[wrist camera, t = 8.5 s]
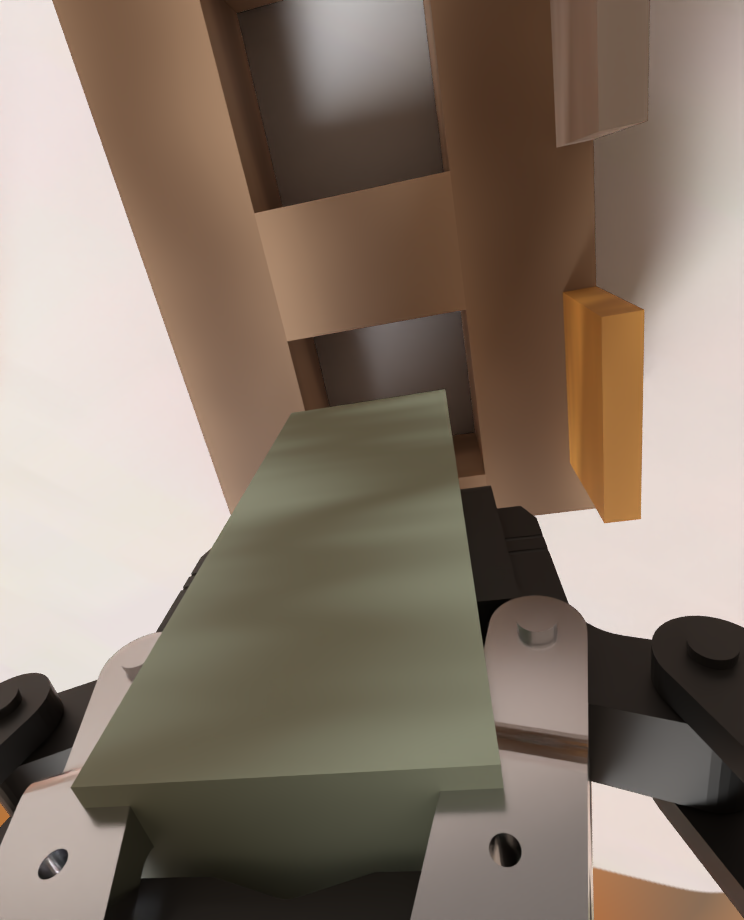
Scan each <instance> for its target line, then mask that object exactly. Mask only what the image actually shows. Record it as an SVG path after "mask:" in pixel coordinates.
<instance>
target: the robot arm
mask: <svg viewBox="0 0 744 920" xmlns="http://www.w3.org/2000/svg"><path fill="white" fill-rule="evenodd" d="M460 493H461V500H462V506H463V513H464V520H465V527H466V533H467V540H468V547H469V554H470V560H471V567H472V574H473V581H474V587H475V594H476V601H477V608H478V614H479V621H480V628H481V635H482V641H483V648H484V655H485V662H486V668H487V675H488V682H489V689H490V695H491V702H492V709H493V716H494V722H495V729H496V736H497V743H498V749H499V756H500V763H501V770H502V778H503V785H504V788H495V789H474V790H453V791H440V793H439V797H438V802H437V806H436V810H435V815H434V819H433V823H432V828H431V832H430V837H429V841H428V845H427V850H426V854H425V858H424V863H423V867H422V871H398V872H374V873H371V874H368V875H365V876H362V877H359V878H355V879H352V880H349V881H346V882H343V883H340V884H337V885H334V886H331V887H328V888H325V889H322V890H318V891H315V892H312V893H309V894H306V895H303V896H300V897H297V898H293V899H280V898H276V897H273V896H270V895H267V894H264V893H261V892H258V891H255V890H252V889H249V888H245V887H242V886H239V885H236V884H233V883H230V882H227V881H224V880H221V879H218V878H215V877H212V876H209V877H171V878H141V876H142V872H143V868H144V865H145V861H146V859H147V857H148V855H149V853H150V851H151V850H152V849H153V848H154V846H153V844H152V842H151V840H150V839H149V837H148V835H147V834H146V832H145V830H144V829H143V827H142V825H141V823H140V822H139V820H138V818H137V817H136V815H135V813H134V811H133V810H132V808H131V806H115V807H94V808H83V806H82V805H81V803H80V802H79V800H78V798H77V797H76V795H75V794H74V792H73V791H72V789H71V788H70V787H71V786H72V784H73V782H74V781H75V779H76V777H77V776H78V774H79V772H80V771H81V769H82V767H83V765H84V764H85V762H86V760H87V759H88V757H89V755H90V754H91V752H92V750H93V748H94V747H95V745H96V743H97V742H98V740H99V738H100V737H101V735H102V733H103V732H104V730H105V728H106V726H107V725H108V723H109V721H110V720H111V718H112V716H113V715H114V713H115V711H116V709H117V708H118V706H119V704H120V703H121V701H122V699H123V698H124V696H125V694H126V693H127V691H128V689H129V687H130V686H131V684H132V682H133V681H134V679H135V677H136V676H137V674H138V672H139V670H140V669H141V667H142V665H143V664H144V662H145V660H146V659H147V657H148V655H149V654H150V652H151V650H152V648H153V647H154V645H155V643H156V642H157V640H158V638H159V637H160V635H161V633H162V632H163V630H164V628H165V626H166V625H167V623H168V621H169V620H170V618H171V616H172V615H173V613H174V611H175V609H176V608H177V606H178V604H179V603H180V601H181V599H182V598H183V596H184V594H185V593H186V591H187V589H188V587H189V586H190V584H191V582H192V581H193V579H194V577H195V576H196V574H197V572H198V570H199V569H200V567H201V565H202V564H203V562H204V560H205V559H206V557H207V555H208V554H209V552H210V550H211V549H210V550H209V551H208V552H207V553H206V554H204V555H203V556H202V557H201V558H200V560H199V562H198V563H197V565H196V567H195V568H194V570H193V572H192V573H191V574H192V576H191V577H189V578H188V580H187V582H186V583H185V585H184V586H183V590H181V591H180V593H179V595H178V596H177V598H176V600H175V601H174V603H173V605H172V606H171V608H170V610H169V611H168V613H167V615H166V616H165V618H164V620H163V621H162V623H161V625H160V626H159V628H158V630H157V631H156V633H152V634H148V635H145V636H143V637H140V638H138V639H136V640H134V641H132V642H130V643H128V644H127V645H125V646H124V647H122V648H121V649H120V650H118V651H117V652H116V653H115V654H114V655H113V656H112V657H111V658H110V659H109V660H108V661H107V662H106V664H105V665H104V667H103V668H102V670H101V672H100V675H99V677H98V680H95V681H92V682H90V683H87V684H84V685H81V686H78V687H75V688H72V689H69V690H66V691H63V692H60V693H57V692H56V691H55V689H54V687H53V686H52V684H51V682H50V681H49V679H48V678H47V677H46V676H45V675H43V674H39V673H28V674H23V675H19V676H16V677H13V678H11V679H8V680H6V681H4V682H2V683H0V803H1V804H2V806H3V807H4V808H5V810H6V811H7V813H8V814H9V815H10V817H9V818H8V819H7V820H6V821H5V823H3V825H2V826H1V827H0V920H594V913H593V850H592V781H593V782H597V783H600V784H604V785H608V786H612V787H616V788H619V789H623V790H627V791H631V792H635V793H638V794H642V795H646V796H650V797H652V798H653V800H654V801H655V803H656V804H657V806H658V807H659V809H660V810H661V811H662V812H663V814H664V815H665V816H666V818H667V819H668V820H669V822H670V823H671V824H672V825H673V827H674V828H675V829H676V831H677V832H678V833H679V835H680V836H681V837H682V838H683V840H684V841H685V842H686V844H687V845H688V846H689V848H690V849H691V850H692V851H693V853H694V854H695V855H696V857H697V858H698V859H699V861H700V862H701V863H702V864H703V866H704V867H705V868H706V870H707V871H708V872H709V874H710V875H711V876H712V878H713V879H714V880H715V881H716V883H717V884H718V885H719V887H720V888H721V889H722V891H723V892H724V893H725V894H726V896H727V897H728V898H729V900H730V901H731V902H732V904H733V905H734V906H735V907H736V909H737V910H738V911H739V913H740V914H741V915H742V917H743V918H744V628H743V627H741V626H739V625H737V624H734V623H731V622H729V621H725V620H722V619H718V618H713V617H706V616H685V617H679V618H675V619H672V620H670V621H668V622H665V623H664V624H663V625H661V626H660V627H659V628H658V629H657V630H656V631H655V633H654V635H653V638H652V640H650V639H643V638H636V637H629V636H623V635H618V634H613V633H609V632H606V631H603V630H601V629H598V628H596V627H594V626H592V625H590V624H588V623H587V622H585V620H584V618H583V617H582V615H581V614H580V613H579V612H578V611H577V610H576V609H575V608H574V607H572V606H571V605H569V603H568V601H567V598H566V596H565V593H564V590H563V588H562V585H561V582H560V580H559V577H558V574H557V572H556V569H555V566H554V564H553V561H552V558H551V556H550V553H549V551H548V549H547V545H546V542H545V540H544V537H543V535H542V532H541V529H540V526H539V524H538V521H537V518H536V517H534V516H533V515H532V514H531V513H529V512H528V511H527V510H526V509H524V508H523V507H522V506H514V507H505V508H497V506H496V503H495V499H494V495H493V491H492V487H491V485H490V486H482V487H474V488H466V489H460Z"/></svg>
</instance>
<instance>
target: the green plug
mask: <svg viewBox="0 0 744 920" xmlns="http://www.w3.org/2000/svg"><path fill="white" fill-rule="evenodd" d="M70 788H71V789H72V791H73V792H74V794H75V795H76V797H77V798H78V800H79V802H80V803H81V805H82V806H83V808H94V807H115V806H131V808H132V810H133V811H134V813H135V815H136V817H137V818H138V820H139V822H140V823H141V825H142V827H143V829H144V830H145V832H146V834H147V835H148V837H149V839H150V840H151V842H152V844H153V846H154V848H153V849H152V850H151V851H150V853H149V855H148V857H147V859H146V861H145V865H144V868H143V872H142V876H141V878H171V877H209V876H212V877H215V878H218V879H221V880H224V881H227V882H230V883H233V884H236V885H239V886H242V887H245V888H249V889H252V890H255V891H258V892H261V893H264V894H267V895H270V896H273V897H276V898H280V899H293V898H297V897H300V896H303V895H306V894H309V893H312V892H315V891H318V890H322V889H325V888H328V887H331V886H334V885H337V884H340V883H343V882H346V881H349V880H352V879H355V878H359V877H362V876H365V875H368V874H371V873H374V872H398V871H422V867H423V863H424V858H425V854H426V850H427V845H428V841H429V837H430V832H431V828H432V823H433V819H434V815H435V810H436V806H437V802H438V797H439V793H440V791H453V790H474V789H495V788H504V785H503V778H502V770H501V763H500V756H499V749H498V743H497V736H496V729H495V722H494V716H493V709H492V702H491V695H490V689H489V682H488V675H487V668H486V662H485V655H484V648H483V641H482V635H481V628H480V621H479V614H478V608H477V601H476V594H475V587H474V581H473V574H472V567H471V560H470V554H469V547H468V540H467V533H466V527H465V520H464V513H463V506H462V500H461V493H460V486H459V479H458V473H457V466H456V459H455V452H454V446H453V439H452V432H451V425H450V419H449V412H448V405H447V398H446V392H445V389H443V390H436V391H430V392H424V393H417V394H411V395H404V396H398V397H391V398H385V399H379V400H372V401H366V402H359V403H353V404H346V405H340V406H334V407H327V408H321V409H314V410H308V411H301V412H295V413H291V415H290V416H289V418H288V420H287V421H286V423H285V425H284V426H283V428H282V430H281V431H280V433H279V435H278V437H277V438H276V440H275V442H274V443H273V445H272V447H271V448H270V450H269V452H268V454H267V455H266V457H265V459H264V460H263V462H262V464H261V465H260V467H259V469H258V470H257V472H256V474H255V476H254V477H253V479H252V481H251V482H250V484H249V486H248V487H247V489H246V491H245V492H244V494H243V496H242V498H241V499H240V501H239V503H238V504H237V506H236V508H235V509H234V511H233V513H232V515H231V516H230V518H229V520H228V521H227V523H226V525H225V526H224V528H223V530H222V531H221V533H220V535H219V537H218V538H217V540H216V542H215V543H214V545H213V547H212V548H211V550H210V552H209V554H208V555H207V557H206V559H205V560H204V562H203V564H202V565H201V567H200V569H199V570H198V572H197V574H196V576H195V577H194V579H193V581H192V582H191V584H190V586H189V587H188V589H187V591H186V593H185V594H184V596H183V598H182V599H181V601H180V603H179V604H178V606H177V608H176V609H175V611H174V613H173V615H172V616H171V618H170V620H169V621H168V623H167V625H166V626H165V628H164V630H163V632H162V633H161V635H160V637H159V638H158V640H157V642H156V643H155V645H154V647H153V648H152V650H151V652H150V654H149V655H148V657H147V659H146V660H145V662H144V664H143V665H142V667H141V669H140V670H139V672H138V674H137V676H136V677H135V679H134V681H133V682H132V684H131V686H130V687H129V689H128V691H127V693H126V694H125V696H124V698H123V699H122V701H121V703H120V704H119V706H118V708H117V709H116V711H115V713H114V715H113V716H112V718H111V720H110V721H109V723H108V725H107V726H106V728H105V730H104V732H103V733H102V735H101V737H100V738H99V740H98V742H97V743H96V745H95V747H94V748H93V750H92V752H91V754H90V755H89V757H88V759H87V760H86V762H85V764H84V765H83V767H82V769H81V771H80V772H79V774H78V776H77V777H76V779H75V781H74V782H73V784H72V786H71V787H70Z"/></svg>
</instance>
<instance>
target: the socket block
mask: <svg viewBox="0 0 744 920" xmlns="http://www.w3.org/2000/svg"><path fill="white" fill-rule="evenodd" d="M52 1H53V4H54V7H55V10H56V13H57V15H58V18H59V21H60V24H61V27H62V30H63V33H64V36H65V38H66V41H67V44H68V47H69V50H70V53H71V56H72V59H73V62H74V64H75V67H76V70H77V73H78V76H79V79H80V82H81V85H82V87H83V90H84V93H85V96H86V99H87V102H88V105H89V108H90V111H91V113H92V116H93V119H94V122H95V125H96V128H97V131H98V134H99V136H100V139H101V142H102V145H103V148H104V151H105V154H106V157H107V159H108V162H109V165H110V168H111V171H112V174H113V177H114V180H115V183H116V185H117V188H118V191H119V194H120V197H121V200H122V203H123V206H124V208H125V211H126V214H127V217H128V220H129V223H130V226H131V229H132V232H133V234H134V237H135V240H136V243H137V246H138V249H139V252H140V255H141V257H142V260H143V263H144V266H145V269H146V272H147V275H148V278H149V281H150V283H151V286H152V289H153V292H154V295H155V298H156V301H157V304H158V306H159V309H160V312H161V315H162V318H163V321H164V324H165V327H166V330H167V332H168V335H169V338H170V341H171V344H172V347H173V350H174V353H175V355H176V358H177V361H178V364H179V367H180V370H181V373H182V376H183V379H184V381H185V384H186V387H187V390H188V393H189V396H190V399H191V402H192V404H193V407H194V410H195V413H196V416H197V419H198V422H199V425H200V428H201V430H202V433H203V436H204V439H205V442H206V445H207V448H208V451H209V453H210V456H211V459H212V462H213V465H214V468H215V471H216V474H217V476H218V479H219V482H220V485H221V488H222V491H223V494H224V497H225V500H226V502H227V505H228V508H229V511H230V514H231V515H232V513H233V511H234V509H235V508H236V506H237V504H238V503H239V501H240V499H241V498H242V496H243V494H244V492H245V491H246V489H247V487H248V486H249V484H250V482H251V481H252V479H253V477H254V476H255V474H256V472H257V470H258V469H259V467H260V465H261V464H262V462H263V460H264V459H265V457H266V455H267V454H268V452H269V450H270V448H271V447H272V445H273V443H274V442H275V440H276V438H277V437H278V435H279V433H280V431H281V430H282V428H283V426H284V425H285V423H286V421H287V420H288V418H289V416H290V415H291V413H295V412H301V411H308V410H314V409H321V408H327V407H330V406H329V401H328V397H327V393H326V389H325V385H324V380H323V376H322V372H321V368H320V363H319V359H318V355H317V351H316V346H315V342H314V338H313V337H315V336H320V335H326V334H331V333H337V332H343V331H348V330H354V329H359V328H365V327H371V326H376V325H382V324H387V323H393V322H399V321H404V320H410V319H416V318H421V317H427V316H432V315H438V314H444V313H449V312H455V311H461V320H462V328H463V336H464V344H465V353H466V361H467V369H468V378H469V386H470V394H471V402H472V411H473V419H474V427H475V432H474V433H467V434H460V435H454V436H452V439H453V446H454V452H455V459H456V466H457V473H458V479H459V486H460V489H466V488H474V487H482V486H490V485H491V487H492V491H493V495H494V499H495V503H496V506H497V508H505V507H514V506H522V507H523V508H524V509H526V510H527V511H528V512H529V513H531V514H532V515H533V516H534V515H543V514H551V513H560V512H568V511H576V510H585V509H593V508H596V509H597V511H598V513H599V514H600V516H601V518H602V520H603V521H604V523H610V522H619V521H627V520H636V519H641V471H642V415H643V359H644V309H642V308H640V307H637V306H635V305H633V304H631V303H629V302H627V301H625V300H623V299H621V298H619V297H617V296H615V295H613V294H611V293H609V292H607V291H605V290H603V289H601V288H598V287H596V255H595V200H594V146H593V140H594V139H597V138H600V137H603V136H605V135H608V134H611V133H614V132H617V131H620V130H623V129H626V128H629V127H631V126H634V125H637V124H640V123H643V122H646V121H648V77H649V21H650V0H423V5H424V13H425V21H426V30H427V38H428V46H429V55H430V63H431V71H432V79H433V88H434V96H435V104H436V113H437V121H438V129H439V137H440V146H441V154H442V162H443V171H444V172H442V173H438V174H433V175H428V176H424V177H419V178H415V179H410V180H405V181H401V182H396V183H392V184H387V185H382V186H378V187H373V188H369V189H364V190H359V191H355V192H350V193H346V194H341V195H336V196H332V197H327V198H323V199H318V200H313V201H309V202H304V203H300V204H295V205H290V206H286V207H282V202H281V198H280V194H279V190H278V186H277V181H276V177H275V173H274V169H273V164H272V160H271V156H270V152H269V147H268V143H267V139H266V135H265V131H264V126H263V122H262V118H261V114H260V109H259V105H258V101H257V97H256V92H255V88H254V84H253V80H252V76H251V71H250V67H249V63H248V59H247V54H246V50H245V46H244V42H243V37H242V33H241V29H240V25H239V20H238V16H237V13H239V12H243V11H246V10H250V9H253V8H257V7H261V6H264V5H268V4H271V3H275V2H279V1H282V0H52Z"/></svg>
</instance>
